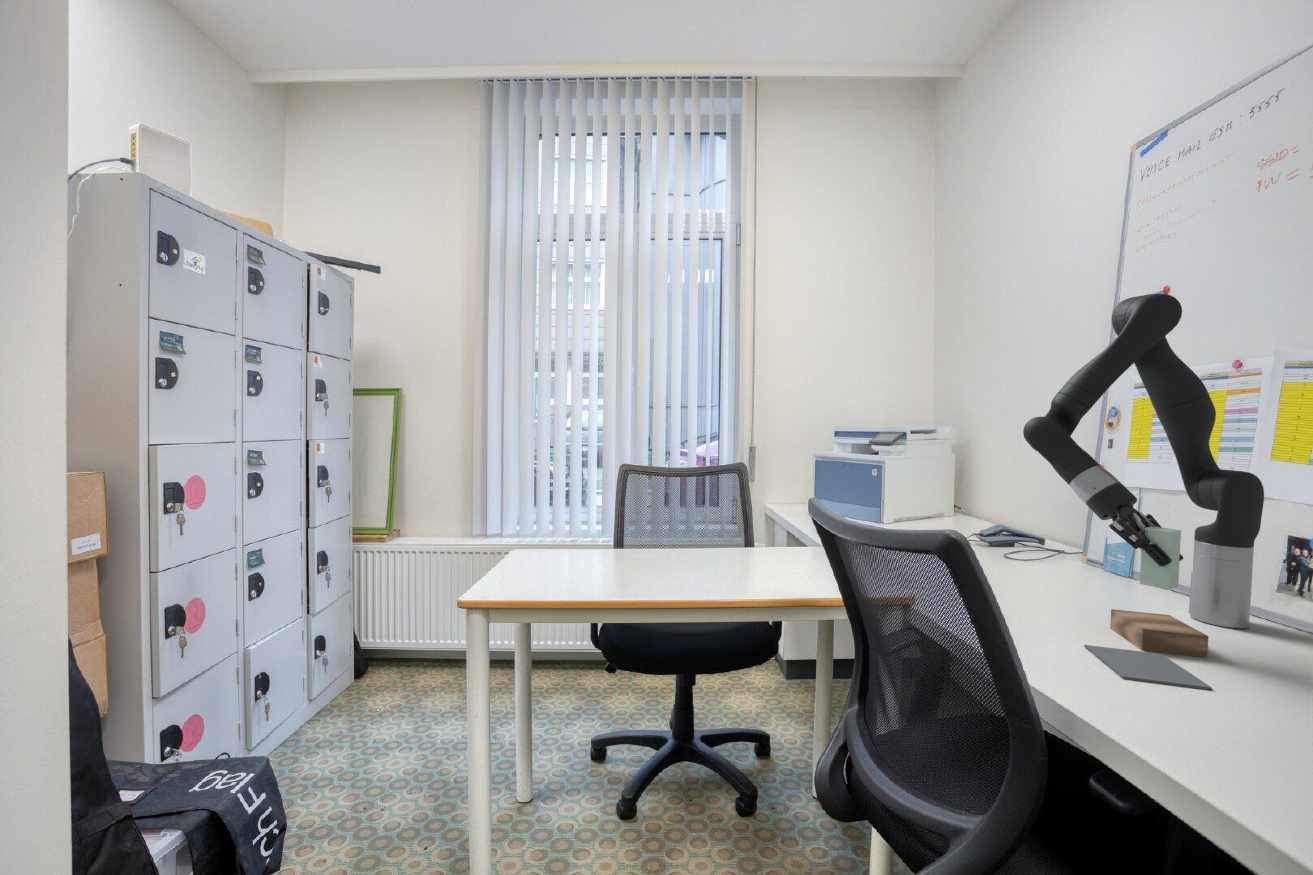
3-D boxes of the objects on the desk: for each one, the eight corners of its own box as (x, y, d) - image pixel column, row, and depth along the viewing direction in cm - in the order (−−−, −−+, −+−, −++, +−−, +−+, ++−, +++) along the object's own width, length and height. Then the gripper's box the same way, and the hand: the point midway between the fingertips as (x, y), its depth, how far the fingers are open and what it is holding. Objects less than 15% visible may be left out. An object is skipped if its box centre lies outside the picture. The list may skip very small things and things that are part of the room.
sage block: (1139, 583, 111) (1142, 528, 111) (1150, 580, 114) (1152, 526, 113) (1168, 589, 108) (1171, 532, 107) (1178, 586, 110) (1181, 530, 109)
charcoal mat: (1084, 646, 107) (1084, 644, 107) (1160, 655, 104) (1160, 653, 104) (1122, 678, 94) (1122, 676, 94) (1211, 689, 90) (1211, 687, 90)
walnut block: (1110, 628, 118) (1111, 609, 118) (1168, 634, 115) (1169, 614, 115) (1141, 650, 106) (1142, 629, 106) (1207, 657, 104) (1208, 636, 104)
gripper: (1100, 482, 113) (1175, 556, 103) (1133, 479, 120) (1207, 548, 110) (1069, 505, 118) (1138, 577, 108) (1103, 501, 125) (1171, 569, 115)
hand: (1172, 562), depth 109 cm, fingers closed on sage block, 4 cm apart
